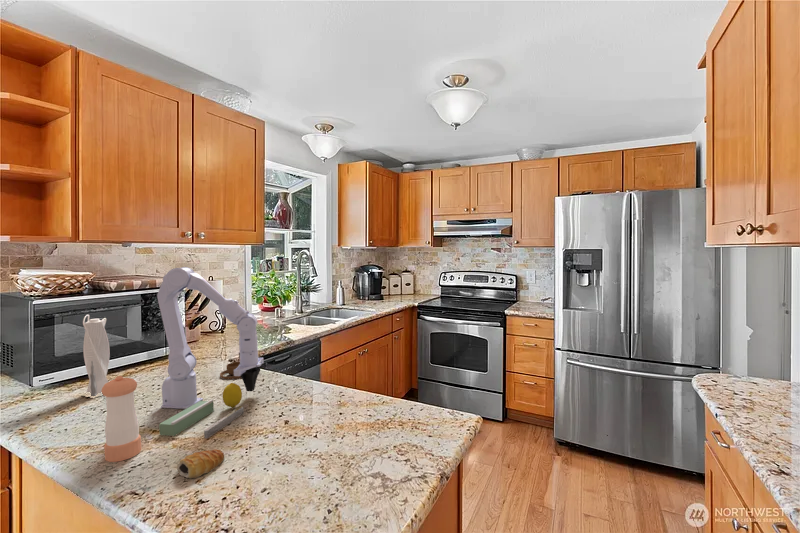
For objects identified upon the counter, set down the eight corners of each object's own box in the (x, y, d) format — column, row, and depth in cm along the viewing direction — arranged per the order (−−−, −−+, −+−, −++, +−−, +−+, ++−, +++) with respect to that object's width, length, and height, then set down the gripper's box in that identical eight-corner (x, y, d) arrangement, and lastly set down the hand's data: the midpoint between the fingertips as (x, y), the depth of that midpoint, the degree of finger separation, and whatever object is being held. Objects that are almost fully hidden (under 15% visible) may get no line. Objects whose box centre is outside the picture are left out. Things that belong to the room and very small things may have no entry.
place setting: (206, 379, 152) (205, 364, 152) (240, 364, 172) (240, 351, 171) (245, 382, 148) (244, 367, 147) (275, 366, 167) (275, 353, 167)
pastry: (214, 454, 94) (213, 439, 94) (231, 462, 91) (230, 446, 90) (174, 474, 86) (173, 457, 86) (191, 483, 83) (190, 466, 82)
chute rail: (204, 438, 102) (204, 430, 102) (240, 412, 118) (240, 406, 118) (207, 438, 102) (207, 430, 102) (243, 412, 118) (243, 406, 118)
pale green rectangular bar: (159, 434, 105) (159, 421, 105) (200, 410, 121) (200, 399, 120) (174, 435, 104) (173, 422, 104) (213, 411, 120) (213, 399, 120)
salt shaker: (148, 448, 97) (144, 373, 97) (119, 464, 91) (114, 382, 90) (127, 444, 100) (123, 370, 99) (97, 459, 93) (92, 380, 92)
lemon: (235, 412, 119) (234, 386, 118) (219, 411, 120) (218, 385, 119) (246, 405, 124) (245, 380, 124) (230, 404, 125) (229, 379, 125)
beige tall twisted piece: (78, 396, 136) (72, 316, 135) (103, 388, 144) (98, 312, 143) (93, 398, 133) (88, 317, 132) (118, 390, 141) (113, 313, 139)
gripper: (247, 356, 123) (249, 399, 123) (270, 345, 137) (272, 383, 138) (227, 356, 124) (229, 398, 125) (252, 345, 138) (254, 382, 139)
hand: (250, 390), depth 131 cm, fingers closed
